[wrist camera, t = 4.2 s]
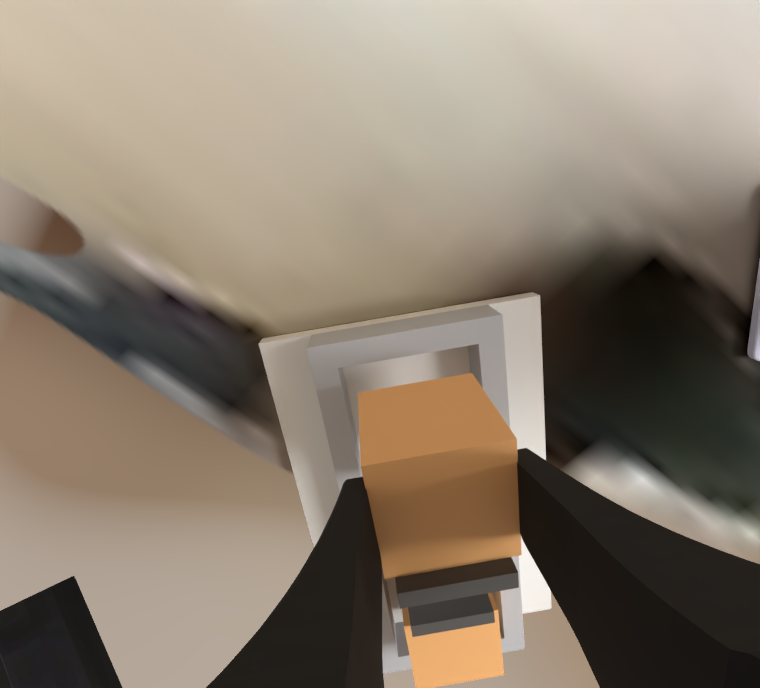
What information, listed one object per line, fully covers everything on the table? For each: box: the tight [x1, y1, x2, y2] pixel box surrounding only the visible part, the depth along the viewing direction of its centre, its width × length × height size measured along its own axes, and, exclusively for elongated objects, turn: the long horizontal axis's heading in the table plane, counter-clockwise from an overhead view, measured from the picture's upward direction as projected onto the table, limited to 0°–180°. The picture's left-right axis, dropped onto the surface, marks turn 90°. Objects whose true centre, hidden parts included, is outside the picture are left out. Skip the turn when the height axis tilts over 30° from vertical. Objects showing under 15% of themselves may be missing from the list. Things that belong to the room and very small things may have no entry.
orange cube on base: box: [358, 373, 522, 609], centre depth 12 cm, size 4×5×4 cm
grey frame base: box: [259, 292, 551, 688], centre depth 18 cm, size 12×18×5 cm, turn 9°
